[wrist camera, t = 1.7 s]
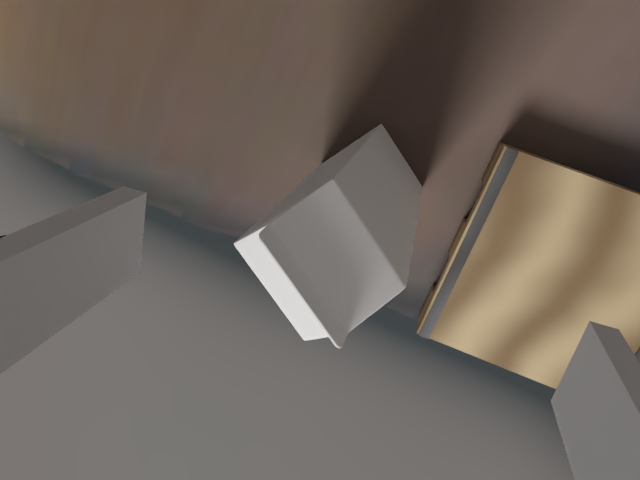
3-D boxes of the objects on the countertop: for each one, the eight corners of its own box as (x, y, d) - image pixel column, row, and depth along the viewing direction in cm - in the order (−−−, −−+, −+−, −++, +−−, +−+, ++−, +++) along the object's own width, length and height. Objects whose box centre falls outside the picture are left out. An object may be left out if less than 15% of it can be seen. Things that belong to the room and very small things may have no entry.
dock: (418, 315, 44) (416, 334, 41) (500, 139, 38) (505, 146, 35) (600, 388, 43) (612, 412, 40) (717, 217, 36) (741, 231, 34)
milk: (381, 122, 40) (318, 192, 19) (424, 187, 40) (405, 319, 20) (318, 165, 42) (202, 268, 21) (360, 226, 43) (285, 379, 22)
